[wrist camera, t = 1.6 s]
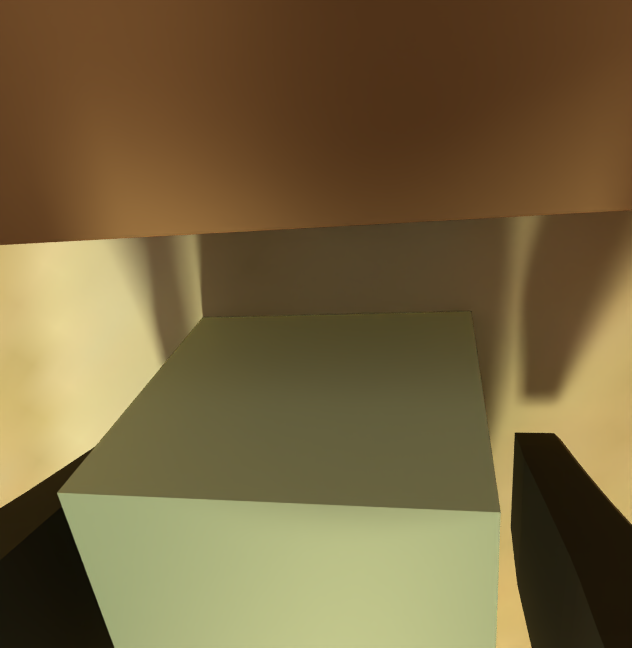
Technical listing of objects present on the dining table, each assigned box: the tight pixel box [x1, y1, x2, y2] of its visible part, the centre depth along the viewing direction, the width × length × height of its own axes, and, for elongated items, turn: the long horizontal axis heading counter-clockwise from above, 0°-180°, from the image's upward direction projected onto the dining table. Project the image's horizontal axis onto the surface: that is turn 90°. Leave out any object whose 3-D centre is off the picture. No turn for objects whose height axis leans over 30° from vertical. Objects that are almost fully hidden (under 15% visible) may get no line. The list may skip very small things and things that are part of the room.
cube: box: [57, 311, 501, 648], centre depth 10 cm, size 5×5×5 cm
